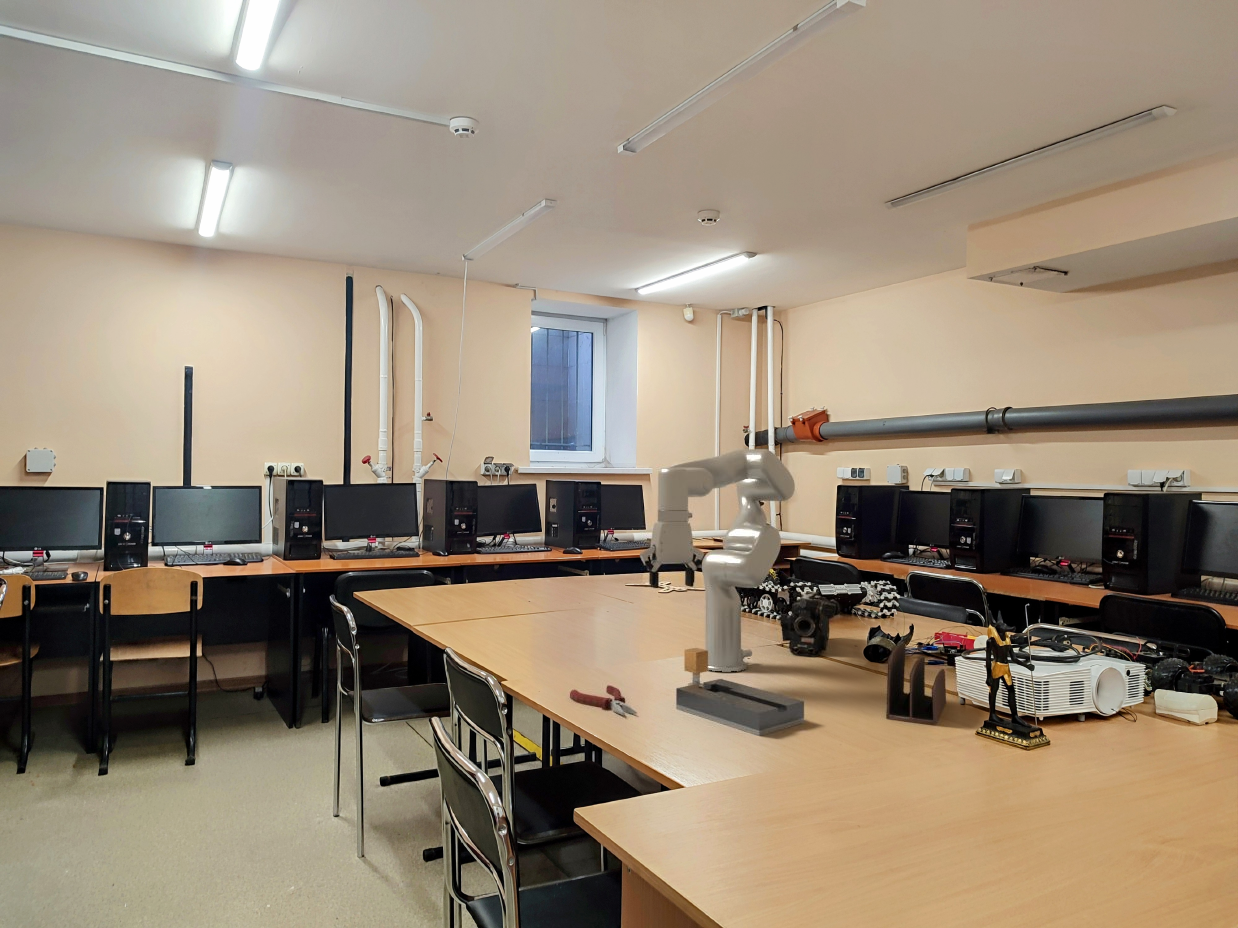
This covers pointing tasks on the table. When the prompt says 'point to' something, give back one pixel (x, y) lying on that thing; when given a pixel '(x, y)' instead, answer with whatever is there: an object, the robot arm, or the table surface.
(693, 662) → the peg
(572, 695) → the pliers
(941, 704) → the letter holder
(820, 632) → the movie camera
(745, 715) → the keyhole track
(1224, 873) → the table surface
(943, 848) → the table surface
